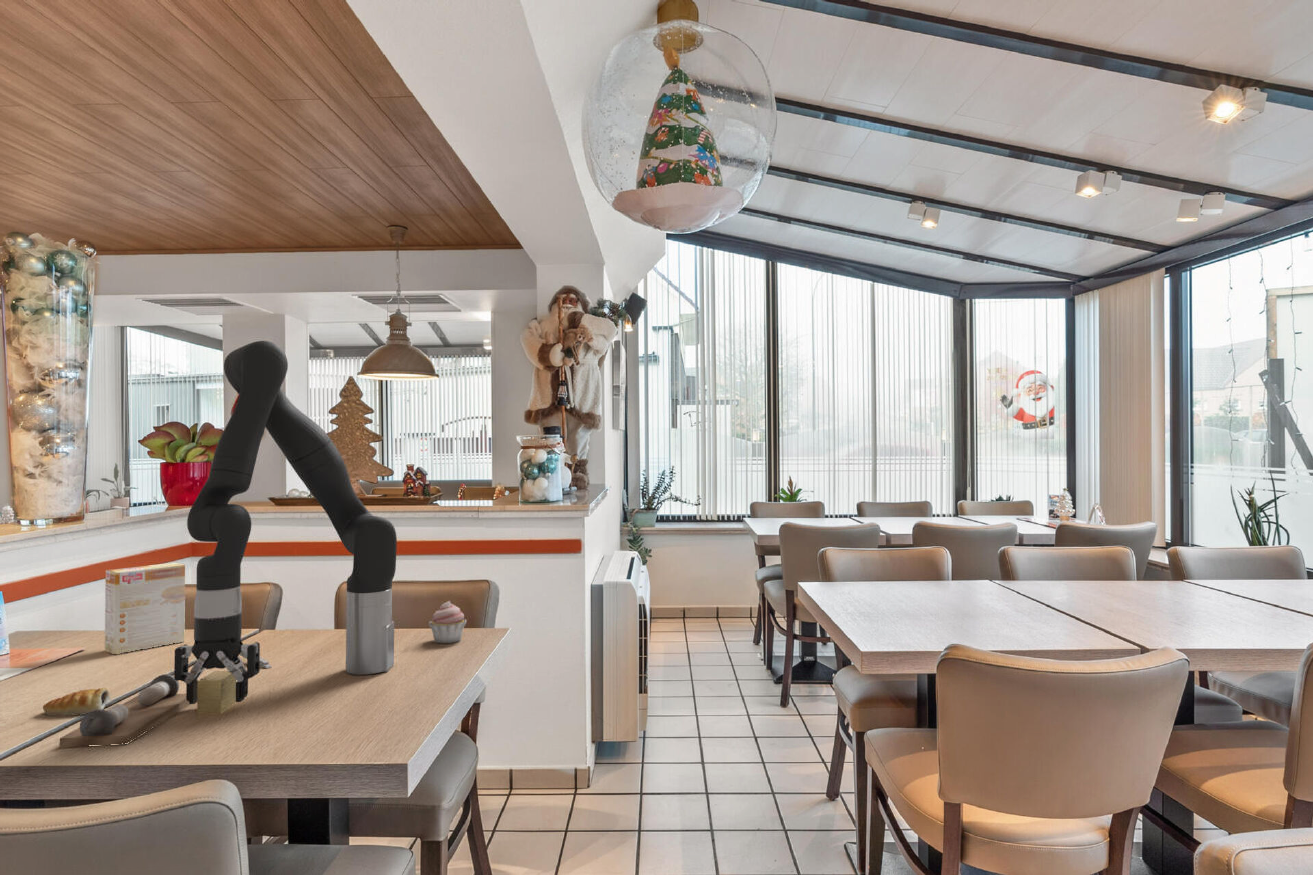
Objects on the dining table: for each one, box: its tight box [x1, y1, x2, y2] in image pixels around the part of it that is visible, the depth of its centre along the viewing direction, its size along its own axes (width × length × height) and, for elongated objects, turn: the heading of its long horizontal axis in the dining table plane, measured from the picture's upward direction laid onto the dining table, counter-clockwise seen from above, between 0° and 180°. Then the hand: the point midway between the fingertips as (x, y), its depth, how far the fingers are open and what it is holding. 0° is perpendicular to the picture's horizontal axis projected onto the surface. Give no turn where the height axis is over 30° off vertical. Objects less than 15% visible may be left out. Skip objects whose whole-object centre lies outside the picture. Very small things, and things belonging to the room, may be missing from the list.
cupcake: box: [428, 600, 467, 644], centre depth 182 cm, size 9×9×10 cm
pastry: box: [42, 687, 111, 717], centre depth 132 cm, size 9×7×4 cm
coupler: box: [196, 670, 237, 715], centre depth 133 cm, size 4×6×6 cm, turn 7°
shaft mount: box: [59, 673, 191, 749], centre depth 126 cm, size 10×21×5 cm, turn 7°
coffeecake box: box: [104, 562, 186, 655], centre depth 178 cm, size 15×7×20 cm, turn 144°
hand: (217, 701), depth 133 cm, fingers open, 7 cm apart
